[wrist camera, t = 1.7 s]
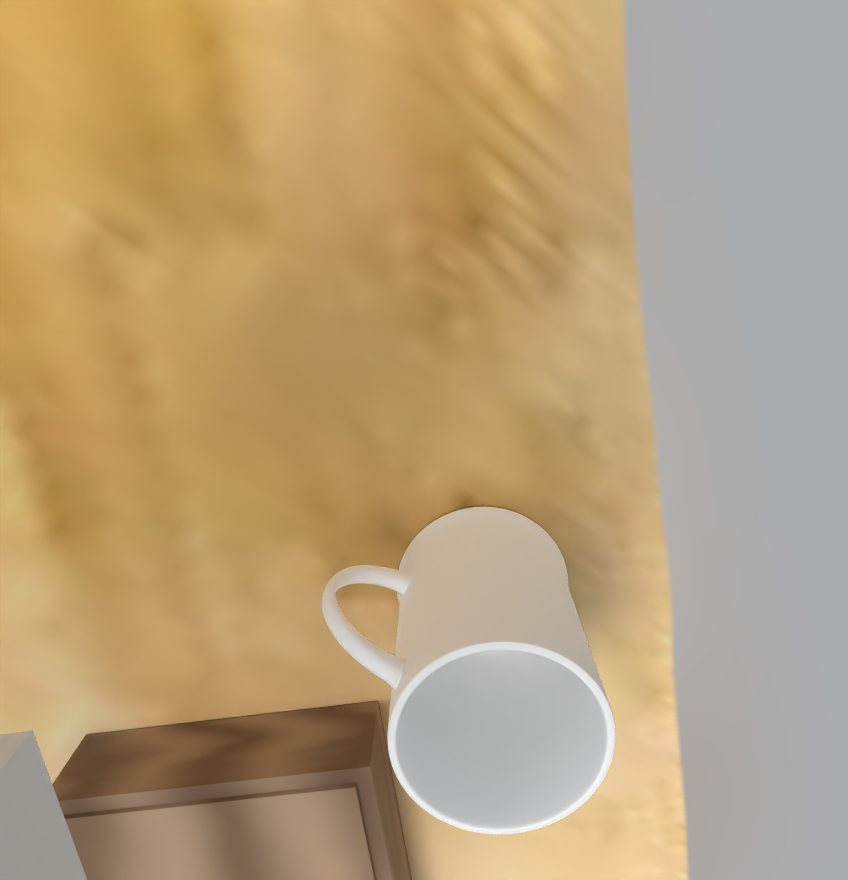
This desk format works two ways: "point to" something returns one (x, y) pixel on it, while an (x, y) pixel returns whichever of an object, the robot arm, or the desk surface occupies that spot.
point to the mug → (486, 674)
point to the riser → (238, 799)
